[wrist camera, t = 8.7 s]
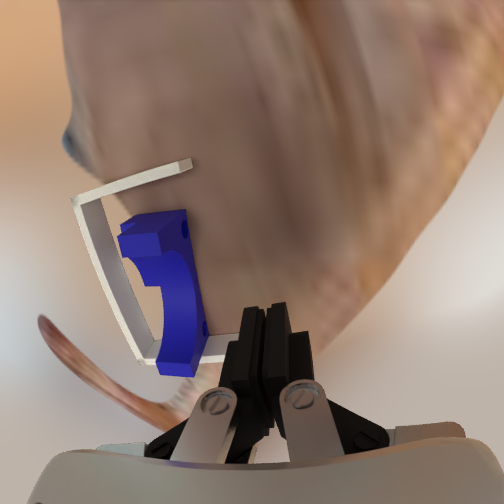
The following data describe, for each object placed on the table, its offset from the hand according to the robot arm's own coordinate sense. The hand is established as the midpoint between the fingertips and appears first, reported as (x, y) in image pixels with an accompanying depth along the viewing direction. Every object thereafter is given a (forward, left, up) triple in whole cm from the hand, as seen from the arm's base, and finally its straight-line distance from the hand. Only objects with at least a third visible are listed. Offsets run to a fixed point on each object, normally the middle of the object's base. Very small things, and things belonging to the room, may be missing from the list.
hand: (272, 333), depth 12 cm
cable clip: (+2, -10, -13) cm, 16 cm away
